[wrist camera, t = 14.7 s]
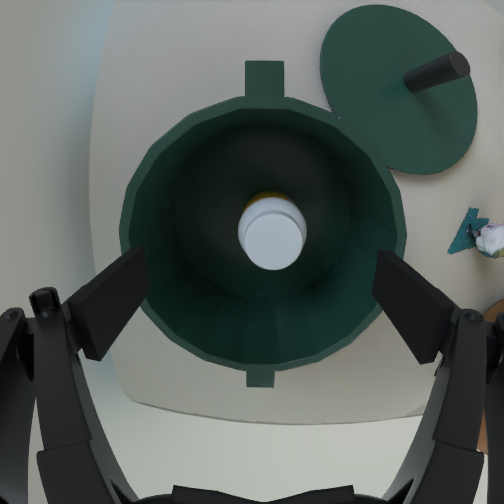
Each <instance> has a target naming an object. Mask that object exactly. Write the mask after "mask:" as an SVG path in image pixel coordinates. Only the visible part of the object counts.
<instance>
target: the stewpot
mask: <svg viewBox="0 0 504 504" xmlns="http://www.w3.org/2000/svg"><path fill="white" fill-rule="evenodd" d="M264 190H278V191H281V192H283V193H285V194H287V195H288V196H289V197H290V198H291V199H292V200H293V201H294V203H295V204H296V206H297V207H298V209H299V210H300V211H301V213H302V215H303V217H304V219H305V222H306V225H307V237H306V241H305V244H304V246H303V248H302V250H301V252H300V255H299V256H298V258H297V259H296V260H295V261H294V262H293V263H292V264H291V265H289V266H287V267H285V268H283V269H278V270H268V269H264V268H261V267H259V266H257V265H256V264H255V263H254V262H252V261H251V259H250V258H249V257H248V255H247V254H246V252H245V251H244V250H243V248H242V246H241V244H240V241H239V237H238V226H239V221H240V219H241V216H242V213H243V211H244V208H245V206H246V204H247V202H248V201H249V199H250V198H251V197H252V196H253V195H255V194H256V193H258V192H261V191H264ZM119 238H120V245H121V253H122V255H123V254H124V253H125V252H127V251H128V250H129V249H130V248H132V247H145V256H146V263H147V271H148V278H149V284H150V292H149V294H148V295H147V296H146V298H145V299H144V301H143V302H142V303H141V305H140V306H141V308H142V310H143V311H144V313H145V314H146V315H147V316H148V317H149V318H150V319H151V320H152V321H153V323H154V324H155V325H156V326H157V327H158V328H159V329H160V330H161V331H162V332H163V333H164V334H165V335H166V336H167V337H168V338H169V339H170V340H171V341H173V342H174V343H176V344H177V345H179V346H181V347H182V348H184V349H186V350H187V351H189V352H191V353H192V354H194V355H196V356H197V357H199V358H201V359H203V360H205V361H208V362H212V363H215V364H219V365H222V366H226V367H229V368H233V369H237V370H242V371H246V385H247V387H265V388H273V387H274V381H275V371H284V370H288V369H292V368H296V367H300V366H304V365H308V364H312V363H315V362H319V361H321V360H323V359H324V358H326V357H328V356H330V355H332V354H333V353H335V352H337V351H339V350H340V349H342V348H344V347H346V346H347V345H349V344H351V343H352V342H353V341H354V340H355V339H356V338H357V337H358V336H359V335H360V334H361V333H362V332H363V331H364V330H365V329H366V328H367V327H368V326H369V325H370V324H371V323H372V322H373V321H374V320H375V319H376V318H377V317H378V316H379V315H380V313H381V312H382V310H383V309H382V308H381V306H380V305H379V303H378V302H377V301H376V299H375V298H374V297H373V295H372V294H371V292H372V287H373V281H374V275H375V269H376V263H377V257H378V250H379V249H380V250H391V251H392V252H394V253H395V254H396V255H397V256H399V257H400V258H401V259H402V260H403V257H404V251H405V245H406V239H407V231H406V224H405V217H404V211H403V205H402V199H401V194H400V190H399V188H398V186H397V184H396V182H395V180H394V178H393V176H392V174H391V172H390V171H389V169H388V167H387V165H386V163H385V162H384V160H383V158H382V156H381V154H380V153H379V151H378V150H377V149H376V148H375V147H374V146H373V145H372V144H371V143H370V142H369V141H368V140H367V139H366V138H365V137H364V136H362V135H361V134H360V133H359V132H358V131H357V130H356V129H354V128H353V127H352V126H351V125H350V124H349V123H347V122H346V121H345V120H344V119H343V118H341V117H339V116H338V115H336V114H334V113H331V112H329V111H326V110H324V109H321V108H319V107H316V106H314V105H311V104H308V103H306V102H303V101H300V100H298V99H295V98H290V97H284V61H245V97H235V98H232V99H229V100H226V101H223V102H220V103H217V104H215V105H212V106H209V107H206V108H204V109H201V110H198V111H196V112H193V113H191V114H190V115H187V116H186V117H185V118H184V119H182V120H181V121H180V122H179V123H177V124H176V125H175V126H174V127H173V128H171V129H170V130H169V131H168V132H167V133H165V134H164V135H163V136H162V137H161V138H160V139H158V140H157V141H156V142H155V143H154V144H153V145H152V146H151V147H150V148H149V150H148V152H147V153H146V155H145V156H144V158H143V160H142V162H141V163H140V165H139V167H138V168H137V170H136V172H135V174H134V175H133V177H132V179H131V181H130V183H129V184H128V186H127V188H126V193H125V198H124V203H123V208H122V214H121V219H120V225H119Z"/></svg>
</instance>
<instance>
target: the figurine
mask: <svg viewBox="0 0 504 504" xmlns="http://www.w3.org/2000/svg"><path fill="white" fill-rule="evenodd" d="M478 211H479V209H477V208H474V209H471V208H469V212H468V213H467V215H466V217H465V220H464V221H463V223H462V225H461V228H460V229H459V231H458V232H457V236H456V238H455V239H454V242H453V243H452V244H451V247H450V249H449V250H448V253H450V254H451V253H452V254H453V253H454V252H455V253H456V252H458V251H459V252H460V251H461V250H465V249H466V248H468V249H470V248H471V247H472V248H473V247H476V248H477V249H478V250H479V251H480V252H481V253H482V254H483V255H484V256H485V257H491V258H494V259H495V258H498V257H504V225H503V224H494V223H491V224H487V223H488V222H489V219H488V218H485V219H483V218H482V219H481V218H480V219H477V218H476V216H478V215H477V213H478ZM448 253H447V254H448Z"/></svg>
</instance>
